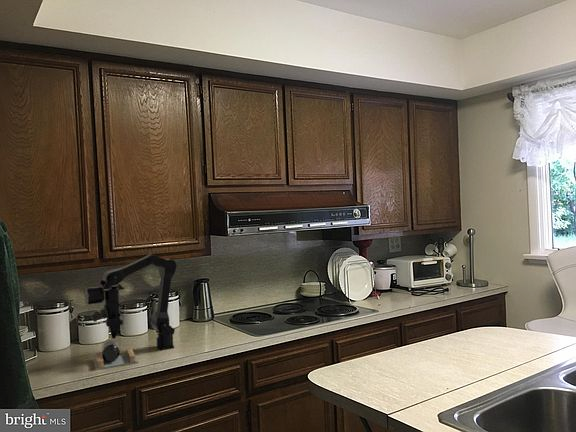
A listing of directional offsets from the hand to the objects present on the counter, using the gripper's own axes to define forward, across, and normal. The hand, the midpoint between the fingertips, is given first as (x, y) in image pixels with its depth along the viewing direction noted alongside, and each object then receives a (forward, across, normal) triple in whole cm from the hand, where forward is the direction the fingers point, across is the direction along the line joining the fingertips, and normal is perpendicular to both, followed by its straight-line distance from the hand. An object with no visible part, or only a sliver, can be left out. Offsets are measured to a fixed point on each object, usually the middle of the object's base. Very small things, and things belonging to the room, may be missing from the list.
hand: (113, 338), depth 197 cm
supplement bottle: (+4, -3, -1) cm, 6 cm away
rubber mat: (+8, +5, 0) cm, 10 cm away
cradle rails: (+8, +5, 0) cm, 10 cm away
